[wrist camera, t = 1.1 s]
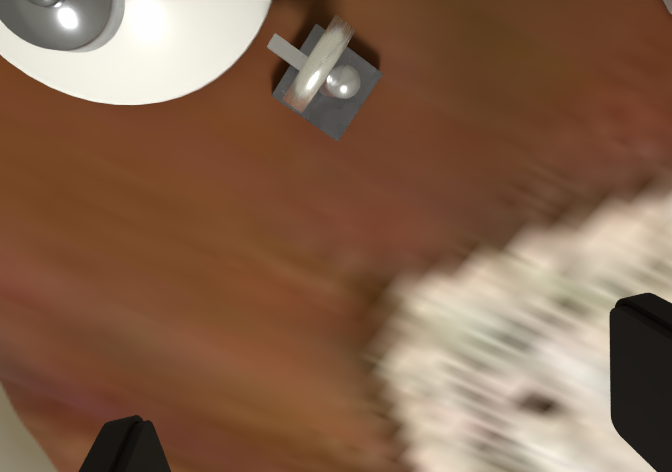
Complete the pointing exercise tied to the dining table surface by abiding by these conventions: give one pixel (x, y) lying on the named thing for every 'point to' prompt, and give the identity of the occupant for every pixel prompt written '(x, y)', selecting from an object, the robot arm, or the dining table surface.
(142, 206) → the dining table surface
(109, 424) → the robot arm
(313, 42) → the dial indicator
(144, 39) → the white plate
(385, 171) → the dining table surface
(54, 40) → the cover
